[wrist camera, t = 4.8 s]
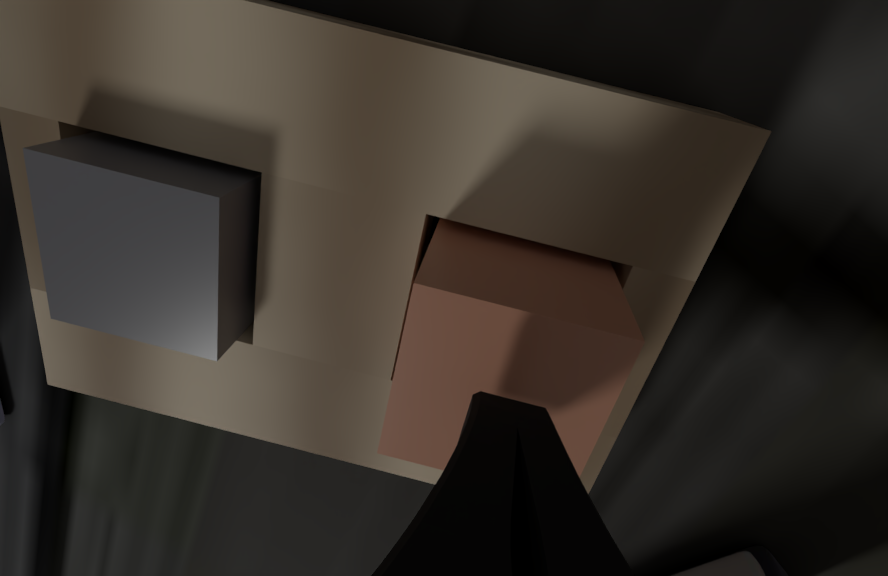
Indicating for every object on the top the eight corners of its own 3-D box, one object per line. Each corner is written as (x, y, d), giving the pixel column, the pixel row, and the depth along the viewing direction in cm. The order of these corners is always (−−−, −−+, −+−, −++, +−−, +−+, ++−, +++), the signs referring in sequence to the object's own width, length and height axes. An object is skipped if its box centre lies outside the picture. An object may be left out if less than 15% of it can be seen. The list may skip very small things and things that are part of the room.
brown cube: (409, 354, 15) (376, 453, 11) (440, 215, 13) (413, 283, 9) (554, 391, 15) (567, 502, 11) (608, 258, 13) (644, 341, 9)
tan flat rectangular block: (114, 334, 19) (47, 384, 16) (77, -47, 13) (-34, -69, 10) (566, 450, 18) (574, 520, 16) (718, 112, 13) (771, 131, 10)
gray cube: (150, 258, 17) (50, 318, 13) (142, 121, 15) (22, 147, 11) (281, 291, 16) (216, 361, 13) (291, 158, 14) (219, 197, 11)
